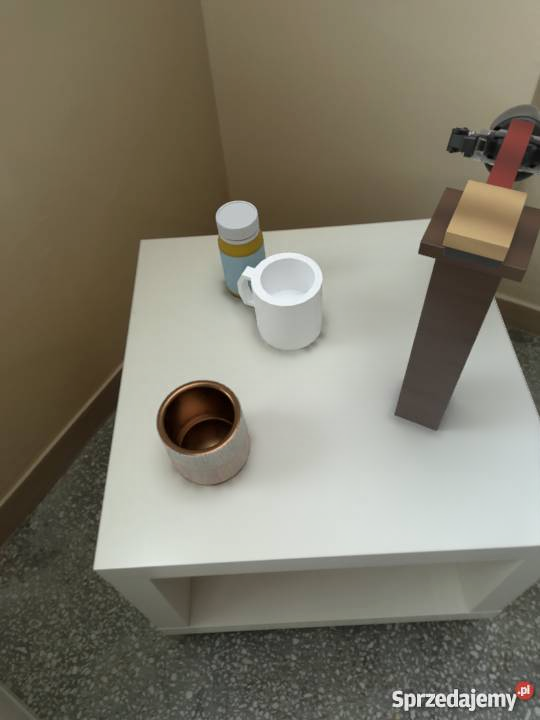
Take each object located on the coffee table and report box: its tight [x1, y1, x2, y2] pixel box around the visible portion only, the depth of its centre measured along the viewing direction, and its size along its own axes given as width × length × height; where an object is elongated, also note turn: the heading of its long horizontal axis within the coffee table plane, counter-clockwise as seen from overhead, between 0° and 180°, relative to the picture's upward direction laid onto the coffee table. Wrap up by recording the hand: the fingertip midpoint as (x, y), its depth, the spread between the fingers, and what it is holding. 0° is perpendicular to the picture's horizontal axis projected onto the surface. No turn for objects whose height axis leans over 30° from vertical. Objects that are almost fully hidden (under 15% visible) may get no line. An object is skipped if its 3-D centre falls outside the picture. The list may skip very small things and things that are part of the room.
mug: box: [237, 252, 324, 351], centre depth 80 cm, size 14×10×11 cm
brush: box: [443, 119, 536, 269], centre depth 48 cm, size 19×5×3 cm, turn 154°
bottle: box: [215, 200, 267, 298], centre depth 83 cm, size 7×7×15 cm
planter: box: [155, 379, 251, 486], centre depth 69 cm, size 11×11×10 cm
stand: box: [394, 186, 540, 431], centre depth 61 cm, size 8×9×33 cm
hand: (511, 155), depth 54 cm, fingers open, 8 cm apart
